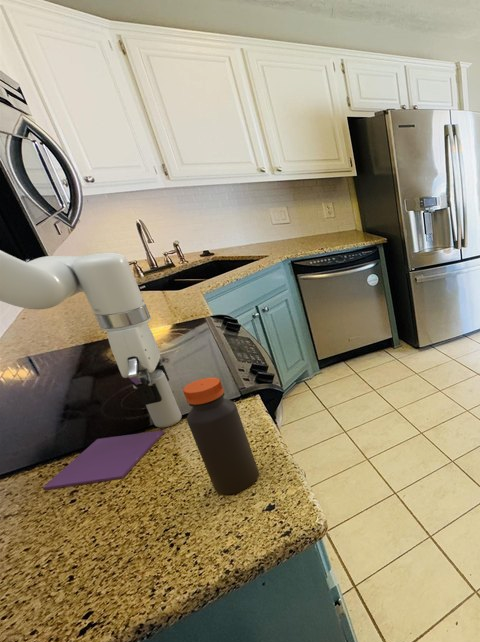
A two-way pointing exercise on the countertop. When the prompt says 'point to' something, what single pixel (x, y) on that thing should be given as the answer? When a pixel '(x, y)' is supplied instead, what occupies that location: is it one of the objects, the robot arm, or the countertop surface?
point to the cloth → (105, 460)
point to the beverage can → (163, 403)
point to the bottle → (220, 437)
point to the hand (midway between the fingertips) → (156, 392)
